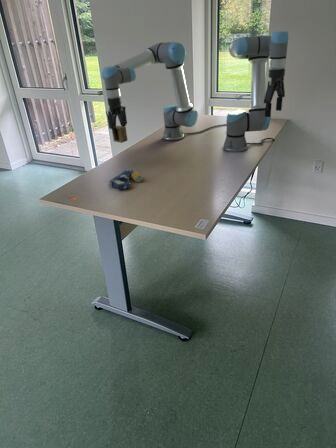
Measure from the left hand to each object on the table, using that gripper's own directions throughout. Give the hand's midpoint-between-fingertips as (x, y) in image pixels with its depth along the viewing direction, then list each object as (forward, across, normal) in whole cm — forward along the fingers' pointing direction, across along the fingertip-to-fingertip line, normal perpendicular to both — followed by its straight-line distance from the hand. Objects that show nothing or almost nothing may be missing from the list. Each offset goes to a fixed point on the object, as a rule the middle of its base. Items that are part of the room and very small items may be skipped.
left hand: (120, 138), depth 197 cm
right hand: (-12, -36, +77) cm, 86 cm away
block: (+1, 0, 0) cm, 1 cm away
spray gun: (+18, +17, +19) cm, 31 cm away
